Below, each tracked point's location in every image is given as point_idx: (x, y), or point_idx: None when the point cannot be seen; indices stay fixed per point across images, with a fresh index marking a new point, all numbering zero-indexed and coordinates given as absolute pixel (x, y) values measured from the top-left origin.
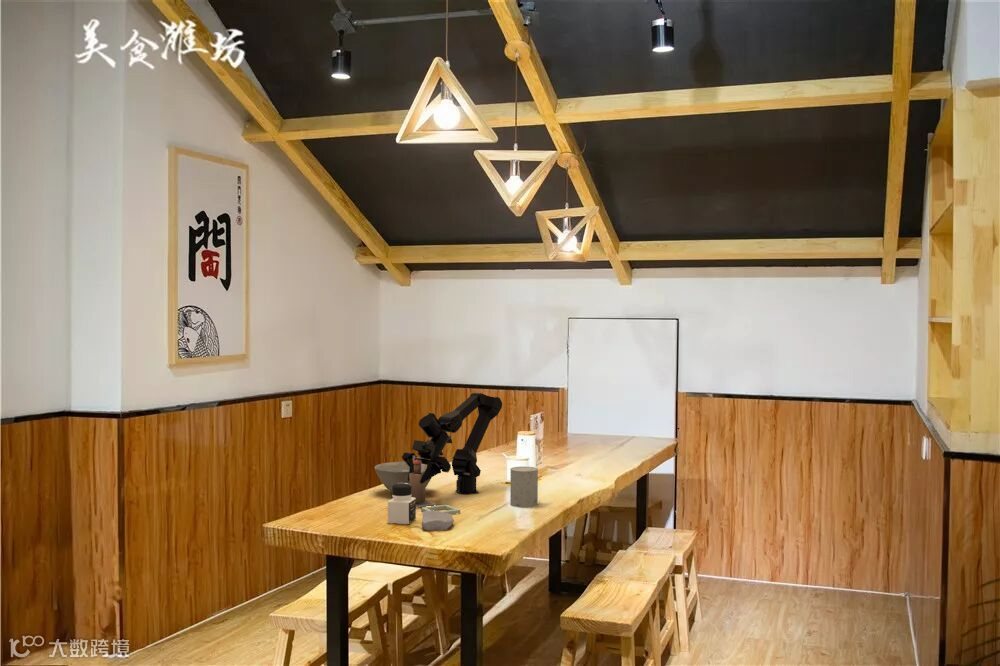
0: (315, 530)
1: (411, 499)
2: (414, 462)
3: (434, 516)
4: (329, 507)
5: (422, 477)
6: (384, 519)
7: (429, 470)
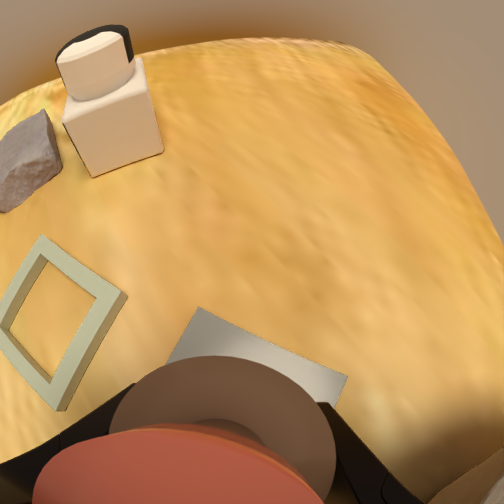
0: (269, 44)
1: (69, 97)
2: (181, 426)
3: (19, 142)
4: (457, 180)
5: (114, 410)
6: (191, 133)
7: (27, 470)
